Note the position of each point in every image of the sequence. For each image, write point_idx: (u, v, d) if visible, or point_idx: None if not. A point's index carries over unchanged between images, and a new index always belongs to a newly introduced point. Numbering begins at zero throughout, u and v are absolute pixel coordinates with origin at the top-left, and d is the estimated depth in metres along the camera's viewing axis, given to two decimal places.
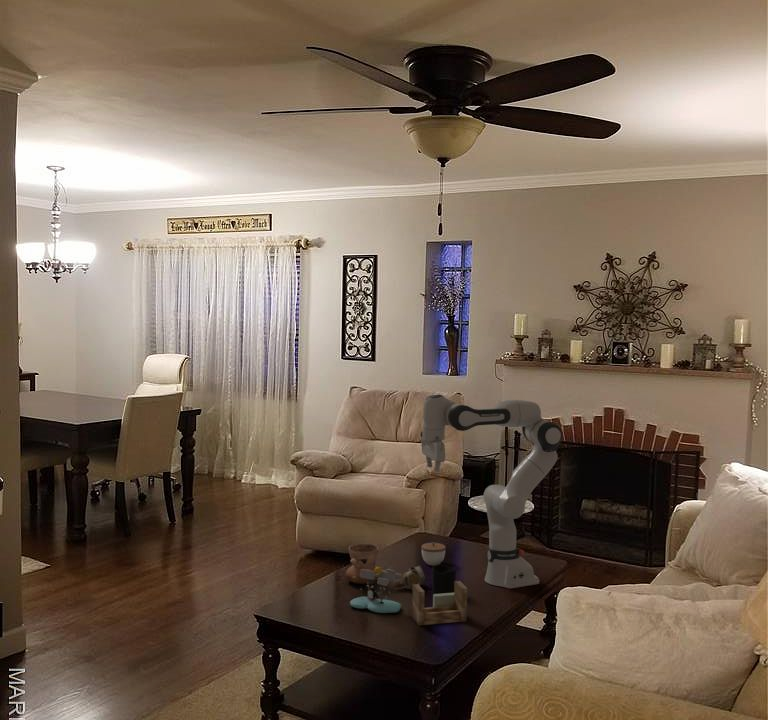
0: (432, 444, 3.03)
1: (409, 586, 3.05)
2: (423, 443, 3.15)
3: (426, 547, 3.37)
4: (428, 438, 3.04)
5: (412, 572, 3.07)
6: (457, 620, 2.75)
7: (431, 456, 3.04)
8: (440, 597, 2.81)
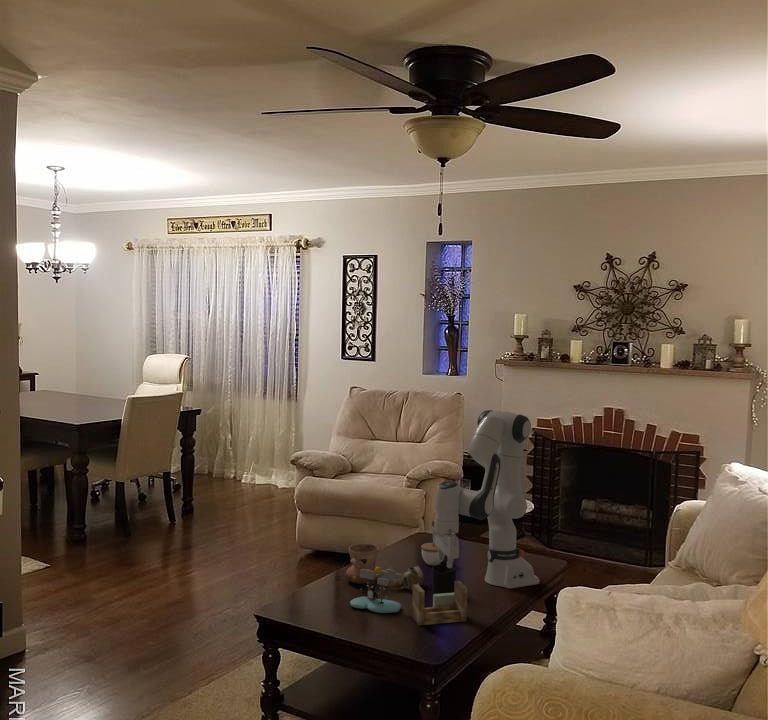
0: (445, 537, 2.77)
1: (408, 586, 3.05)
2: (434, 533, 2.89)
3: (426, 547, 3.37)
4: (440, 530, 2.78)
5: (411, 572, 3.07)
6: (457, 620, 2.75)
7: (444, 551, 2.78)
8: (440, 597, 2.81)
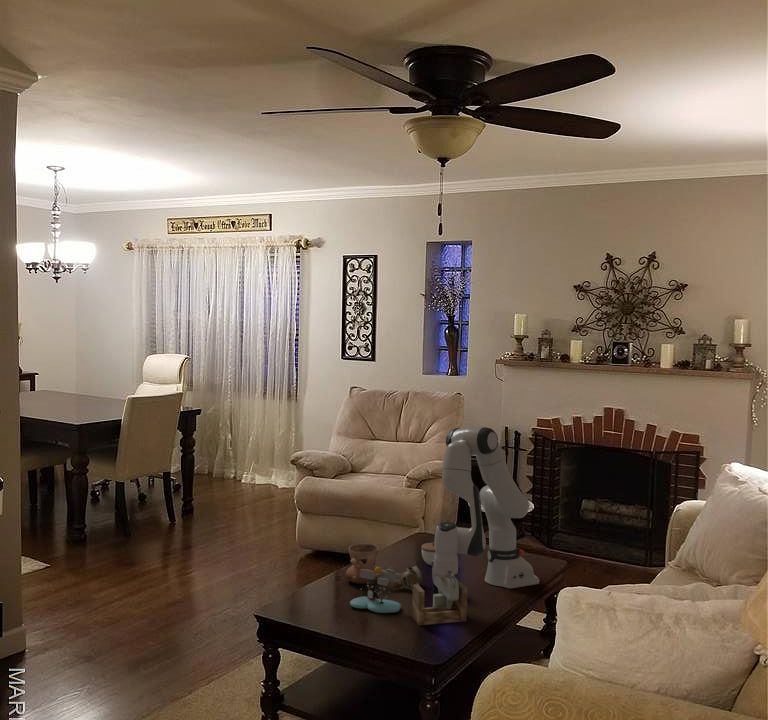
0: (444, 579, 2.77)
1: (407, 586, 3.05)
2: (434, 573, 2.89)
3: (426, 547, 3.37)
4: (440, 572, 2.78)
5: (410, 572, 3.07)
6: (457, 620, 2.75)
7: (444, 592, 2.78)
8: (440, 597, 2.81)
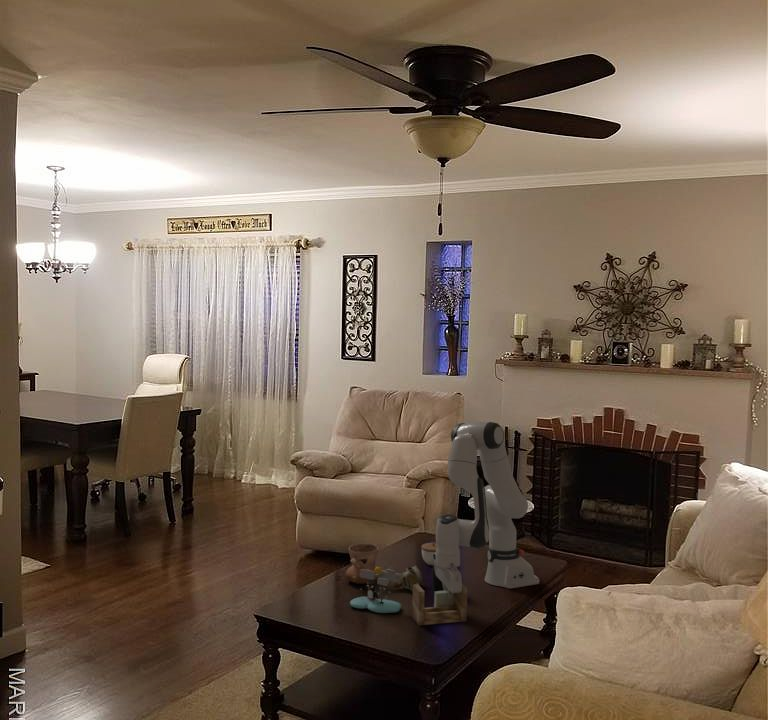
0: (447, 572, 2.77)
1: (407, 586, 3.05)
2: (436, 565, 2.89)
3: (426, 547, 3.37)
4: (442, 565, 2.78)
5: (410, 572, 3.07)
6: (457, 620, 2.75)
7: (446, 585, 2.78)
8: (442, 594, 2.81)
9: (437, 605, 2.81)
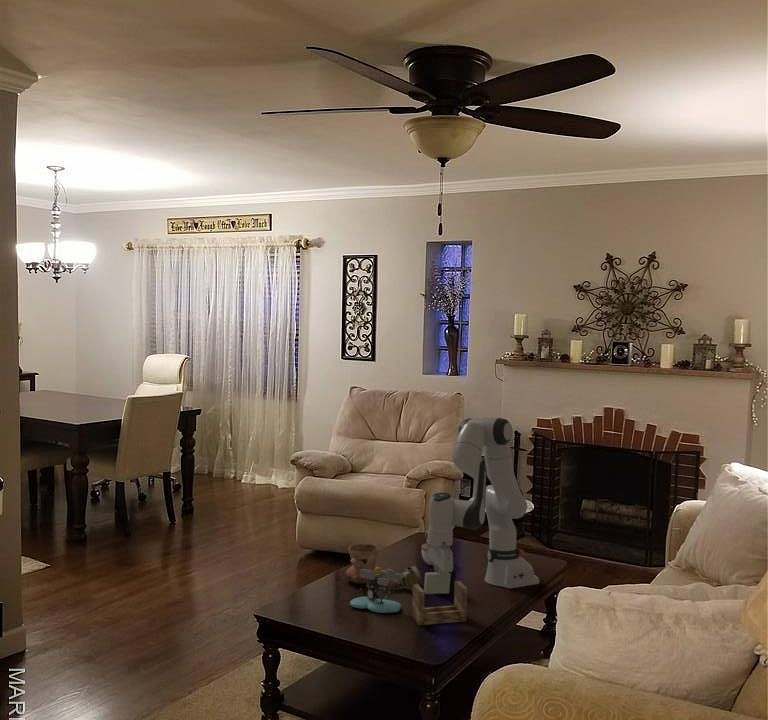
0: (438, 550, 2.71)
1: (407, 586, 3.05)
2: (428, 545, 2.83)
3: (426, 547, 3.37)
4: (434, 543, 2.72)
5: (409, 572, 3.07)
6: (457, 620, 2.75)
7: (437, 564, 2.72)
8: (432, 576, 2.74)
9: (427, 586, 2.74)
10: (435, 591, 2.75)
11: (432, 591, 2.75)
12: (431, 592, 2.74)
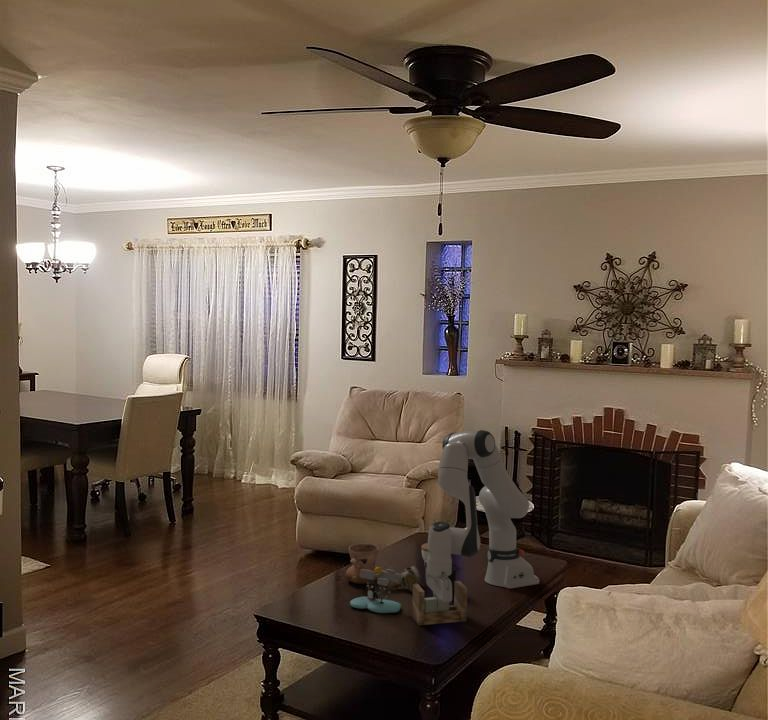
0: (438, 580, 2.72)
1: (406, 586, 3.04)
2: (427, 574, 2.83)
3: (426, 547, 3.37)
4: (433, 573, 2.72)
5: (409, 572, 3.07)
6: (457, 620, 2.75)
7: (437, 594, 2.72)
8: (431, 601, 2.75)
9: (426, 612, 2.74)
10: None
11: None
12: None
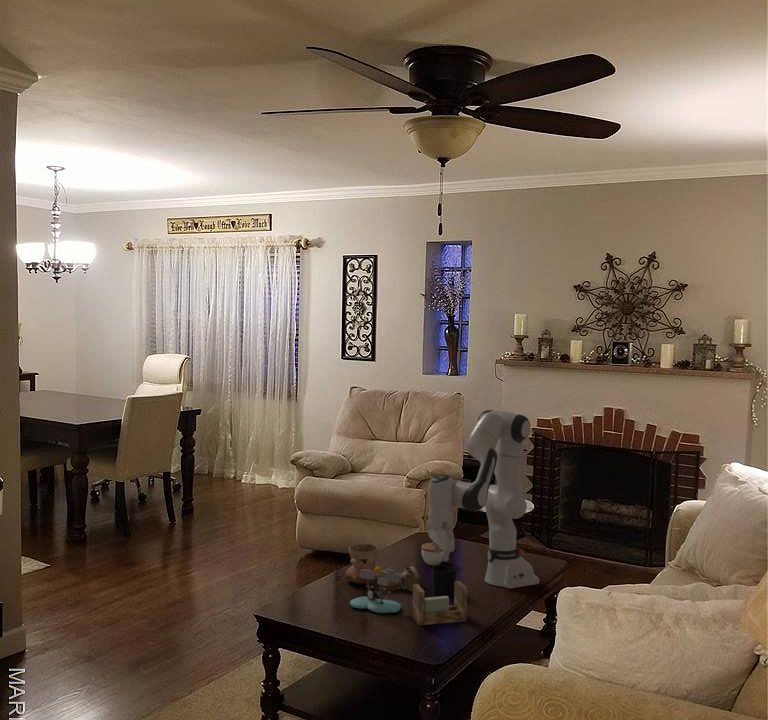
0: (440, 531, 2.76)
1: (406, 586, 3.04)
2: (429, 526, 2.88)
3: (426, 547, 3.37)
4: (435, 524, 2.77)
5: (408, 572, 3.06)
6: (457, 620, 2.75)
7: (439, 544, 2.77)
8: (431, 601, 2.75)
9: (426, 612, 2.74)
10: None
11: None
12: None
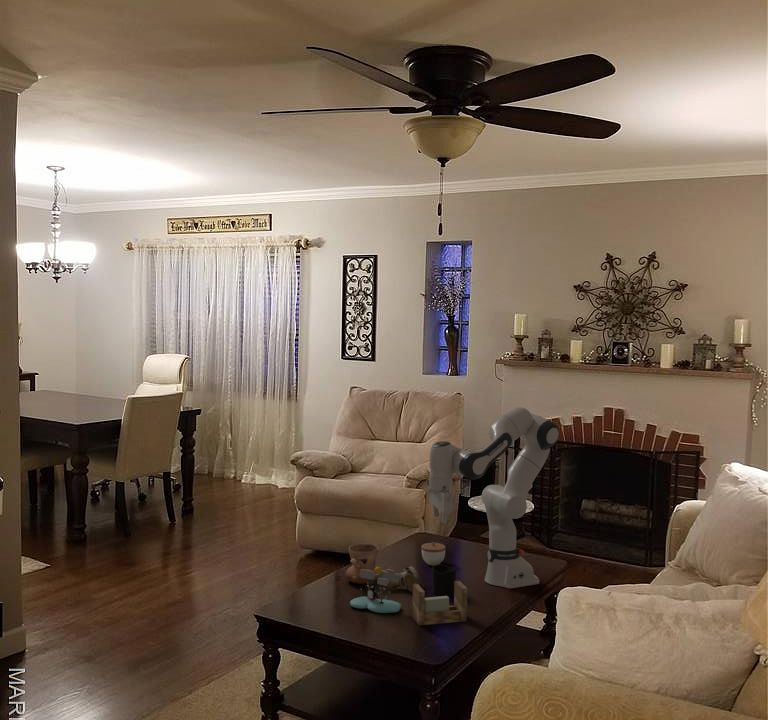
0: (439, 494, 2.90)
1: (405, 586, 3.04)
2: (429, 491, 3.02)
3: (426, 547, 3.37)
4: (435, 488, 2.91)
5: (407, 572, 3.06)
6: (457, 620, 2.75)
7: (438, 507, 2.91)
8: (431, 601, 2.75)
9: (426, 612, 2.74)
10: None
11: None
12: None
